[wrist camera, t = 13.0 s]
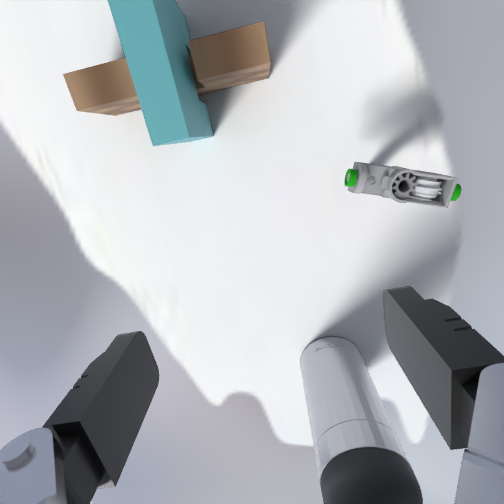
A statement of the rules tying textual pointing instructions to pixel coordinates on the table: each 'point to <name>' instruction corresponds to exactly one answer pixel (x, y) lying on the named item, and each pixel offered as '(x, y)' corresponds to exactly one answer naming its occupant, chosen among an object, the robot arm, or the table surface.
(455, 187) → the mechanical component
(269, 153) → the table surface
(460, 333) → the robot arm
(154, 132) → the teal notched block
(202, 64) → the walnut slotted plate
